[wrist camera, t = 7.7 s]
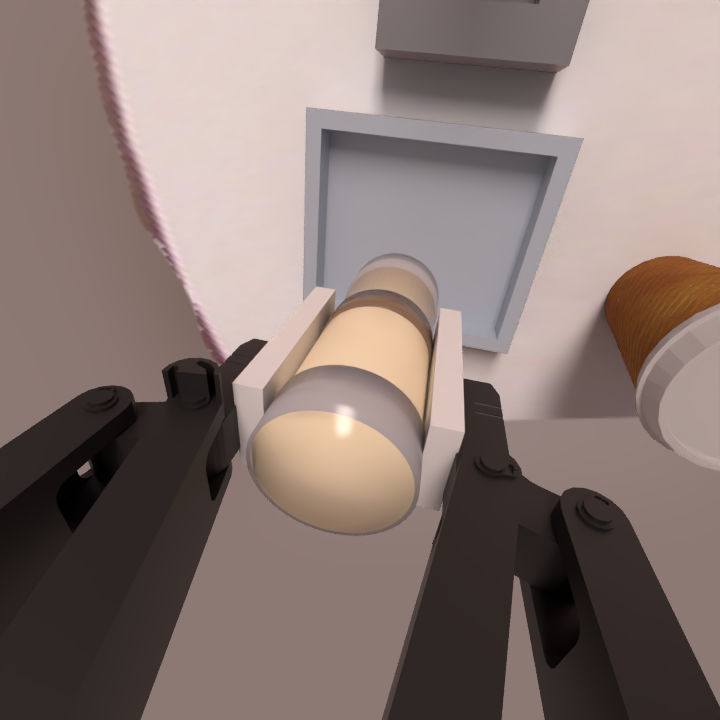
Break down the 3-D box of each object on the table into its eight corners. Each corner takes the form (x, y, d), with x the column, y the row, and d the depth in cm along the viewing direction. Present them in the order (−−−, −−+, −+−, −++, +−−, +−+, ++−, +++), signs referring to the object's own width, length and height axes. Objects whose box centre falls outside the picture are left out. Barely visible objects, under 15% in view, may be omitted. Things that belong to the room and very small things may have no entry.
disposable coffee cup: (573, 360, 30) (629, 476, 20) (588, 239, 26) (671, 310, 16) (718, 357, 28) (864, 486, 18) (764, 221, 23) (996, 293, 13)
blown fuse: (447, 261, 16) (437, 431, 7) (429, 341, 19) (403, 551, 9) (356, 246, 17) (239, 388, 8) (349, 326, 19) (251, 512, 10)
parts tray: (572, 137, 23) (583, 138, 21) (503, 338, 31) (507, 354, 29) (318, 108, 25) (306, 107, 23) (312, 303, 33) (302, 315, 31)
